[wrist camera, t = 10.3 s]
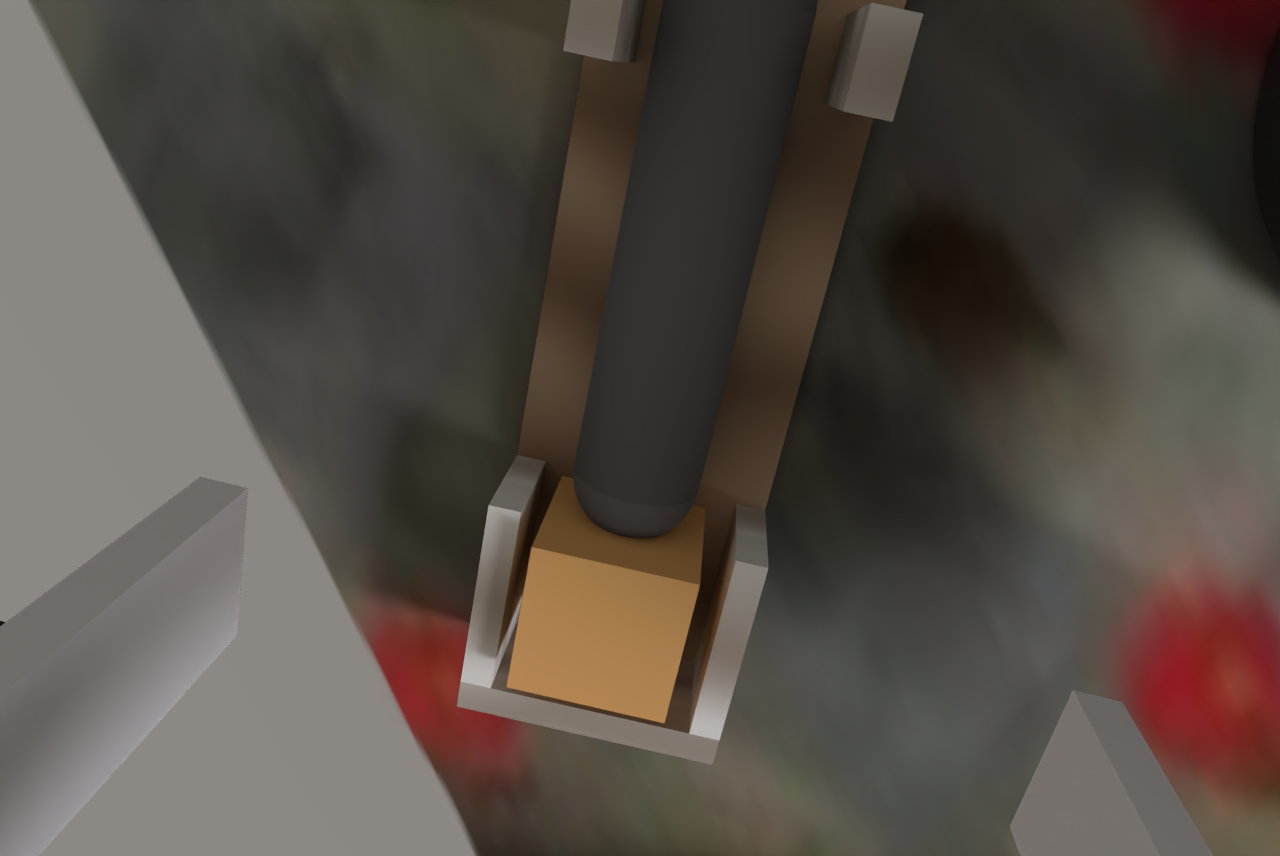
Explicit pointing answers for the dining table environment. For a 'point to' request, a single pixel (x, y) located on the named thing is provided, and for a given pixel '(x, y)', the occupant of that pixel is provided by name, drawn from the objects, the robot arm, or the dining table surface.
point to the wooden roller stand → (759, 368)
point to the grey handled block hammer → (662, 360)
